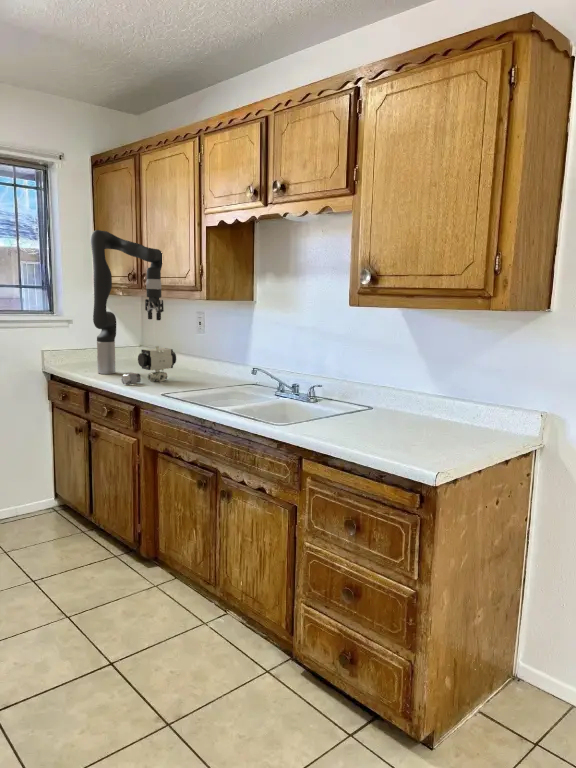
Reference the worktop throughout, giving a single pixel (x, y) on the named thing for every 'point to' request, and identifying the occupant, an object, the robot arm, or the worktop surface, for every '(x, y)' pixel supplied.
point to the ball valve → (157, 362)
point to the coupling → (130, 378)
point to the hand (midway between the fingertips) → (154, 319)
